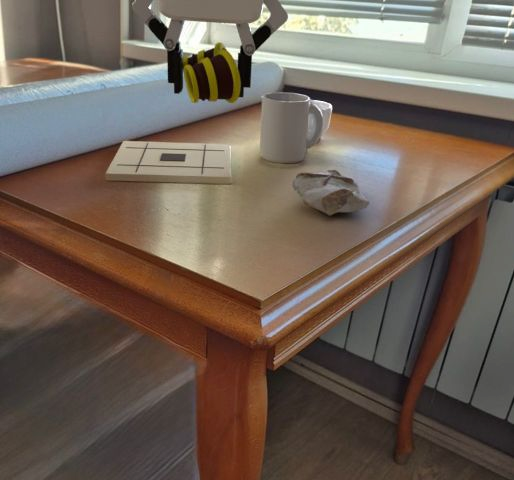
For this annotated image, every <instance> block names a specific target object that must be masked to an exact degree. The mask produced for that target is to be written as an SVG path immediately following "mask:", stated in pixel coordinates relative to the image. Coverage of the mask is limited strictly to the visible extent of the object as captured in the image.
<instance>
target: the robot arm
mask: <svg viewBox="0 0 514 480" xmlns="http://www.w3.org/2000/svg"><path fill="white" fill-rule="evenodd" d="M154 1H155V0H134V1H133V2H132V4H131V10H132V12H133V13H134V14H135V15H136V16H137V17H138V18H139V19H140V20H141V22H143V24H144V25H145V26H147V27H148V29H149V31H151V33H152V34H153V35H154V36H155V37H156V38H157V39H158V41H159V42H160V43H161V44H162V45H163V47H164V49H165V50H166V58H167V59H166V60H167V62H166V64H167V65H166V67H167V84H173V93H174V95H175V94H176V95H180V93H182V92H183V89H184V72H183V56H184V49H183V48H182V47H181V41H180V37H181V34H182V31H183V28H184V26H185V23H186V22H201V23H202V22H203V23H217V24H233V25H235V26H236V29H237V33H238V37H239V40H240V43H241V45H240V46H239V52H237V68H238V71H239V75H240V83H241V86H240V95H239V97H238V98H244V94H245V93H244V92H245V88H246V89H247V88H249V89H250V88H251V84H252V66H253V65H252V64H253V63H252V62H253V55H254V54H255V52H256V51H257V50H259V48H260V47H261V46H262V45H263V44H264V43H266V41H267V40H268V39H269V38H270V37H271V36H272V35H273V34H274V33H276V32H277V30H279V29H280V28H281V27H282V26H283V25H284V24H285V23H286V22H287V21H288V19H289V15H288V13H287V11H286V10H285V8H284V7H283V5H282V4H281V3H280V0H156V4H157V9H158V11H159V13H160V14H161V15H162V16H164V17H166V18H168V19H170V22H169V25H168V26H167V25H166V24H165V23H164V21H162V19H161V18H160V17H158V15H156V13H155V12H154V11H153V10H152V4H153V2H154ZM264 6H265V7H266V9H267V10H268V12H269V17H268V18H267V19H266V20H265V22H263V23H262V24H261V25H260V26H258V27H257V29H255V31H254V32H253V33H252V30H251V26H250V24H252V23H254V22H256V21H257V22H258V20H260V18H261V16H262V14H263V9H264Z"/></svg>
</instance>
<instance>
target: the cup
mask: <svg viewBox="0 0 514 480" xmlns="http://www.w3.org/2000/svg"><path fill="white" fill-rule="evenodd" d="M310 100H311V97H310V96H309V95H305V94H301V93H295V92H283V91H281V92H280V91H278V92H277V91H276V92H267V93H264V94H262V96H261V114H260V115H261V116H260V135H259V136H260V139H259V155H260V157H261V158H262V159H263V160H264V161H267V162H271V163H276V164H295V163H300V162H302V161H303V160H304V159H305V158H306V151H307V149H310V148H312V147H314V146H315V145H316V144H317V143H318V142H319V140H320V139H321V137H320V136H321V133H322V127H323V118H322V113H321V110H320V109H319V107H318V106H317V105H315V104H313V103H310ZM309 114H311V115H312V117H313V129H312V132H311V135H310V136H309V137H308V138H307V129H308V118H309Z"/></svg>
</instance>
